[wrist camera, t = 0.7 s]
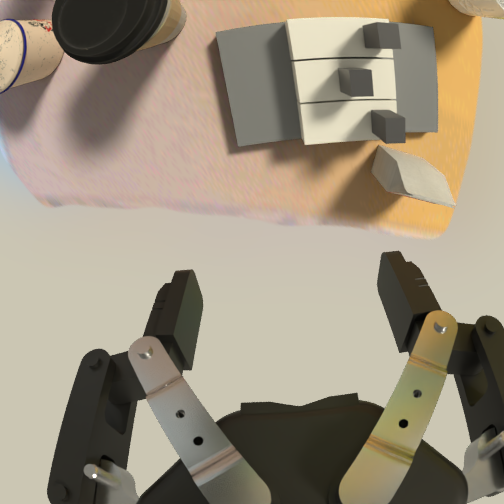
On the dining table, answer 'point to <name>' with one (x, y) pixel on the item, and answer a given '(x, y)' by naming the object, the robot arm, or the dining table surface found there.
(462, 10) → the white cup
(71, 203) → the dining table surface
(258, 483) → the robot arm
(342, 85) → the handle
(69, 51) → the coffee cup
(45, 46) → the teacup with lid
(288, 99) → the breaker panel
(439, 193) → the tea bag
